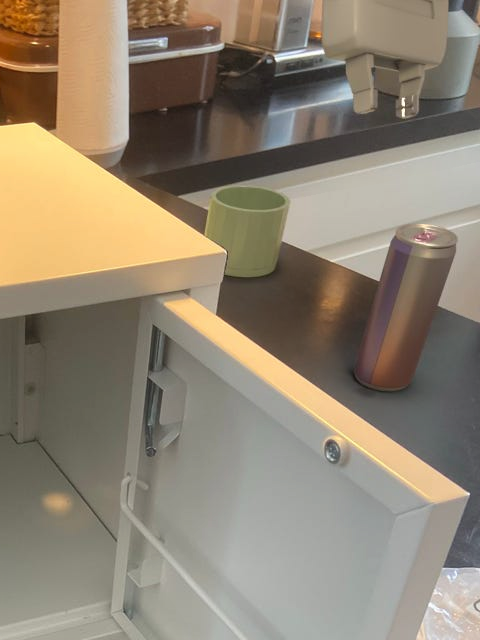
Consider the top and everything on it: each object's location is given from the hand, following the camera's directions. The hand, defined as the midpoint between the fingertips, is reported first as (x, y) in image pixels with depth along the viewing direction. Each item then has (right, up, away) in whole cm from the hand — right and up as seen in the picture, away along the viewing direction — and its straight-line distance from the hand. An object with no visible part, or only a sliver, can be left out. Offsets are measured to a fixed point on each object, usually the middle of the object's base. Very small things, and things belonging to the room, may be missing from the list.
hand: (387, 114), depth 95 cm
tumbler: (-8, -4, +28) cm, 29 cm away
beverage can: (+1, -25, +5) cm, 26 cm away
